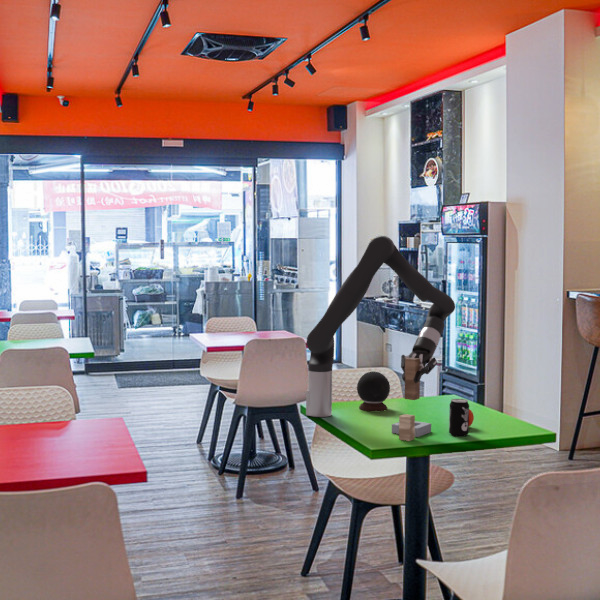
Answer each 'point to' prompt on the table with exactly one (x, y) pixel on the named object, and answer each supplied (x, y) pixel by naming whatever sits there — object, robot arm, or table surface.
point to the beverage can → (459, 417)
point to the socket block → (420, 428)
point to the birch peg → (406, 427)
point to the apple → (470, 417)
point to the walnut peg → (411, 379)
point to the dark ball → (373, 391)
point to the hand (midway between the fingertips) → (409, 380)
